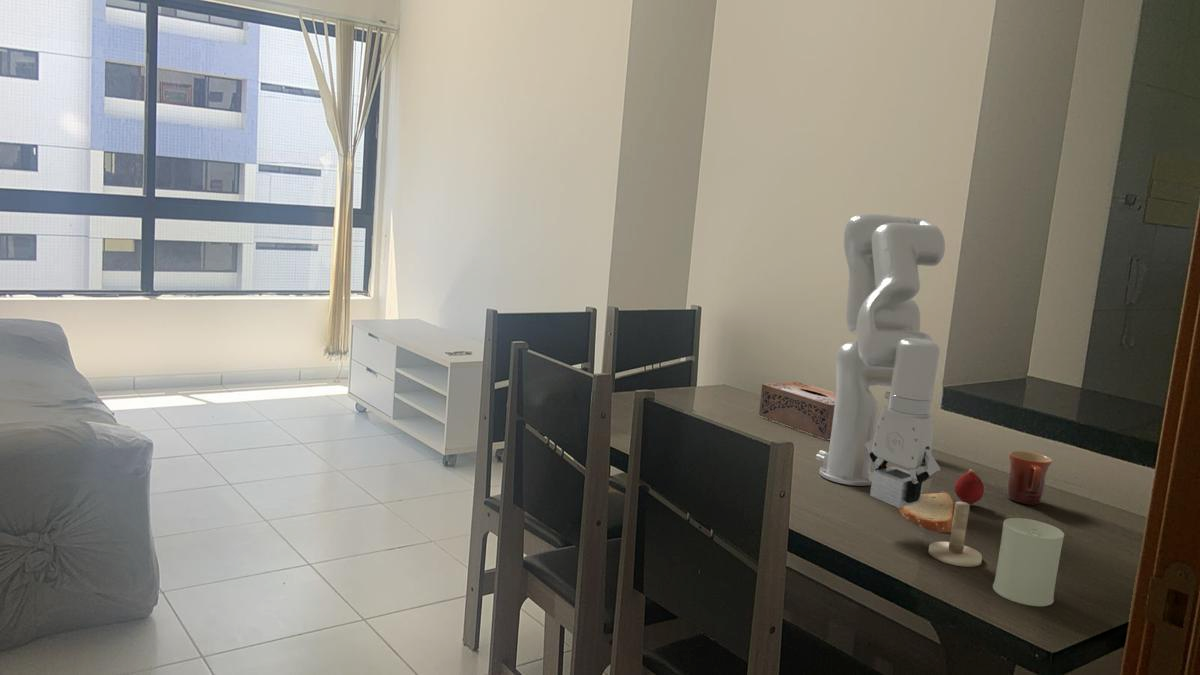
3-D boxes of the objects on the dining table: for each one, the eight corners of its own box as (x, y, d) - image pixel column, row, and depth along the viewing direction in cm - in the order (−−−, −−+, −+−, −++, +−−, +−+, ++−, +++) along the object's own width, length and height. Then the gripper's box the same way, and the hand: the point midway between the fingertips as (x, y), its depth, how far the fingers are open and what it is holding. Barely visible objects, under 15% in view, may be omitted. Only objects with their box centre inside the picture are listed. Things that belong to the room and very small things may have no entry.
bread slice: (939, 536, 174) (941, 517, 173) (867, 505, 189) (869, 488, 188) (995, 524, 183) (998, 506, 183) (922, 496, 198) (925, 480, 198)
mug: (998, 492, 205) (1004, 448, 203) (1039, 497, 203) (1046, 453, 201) (1010, 509, 193) (1018, 463, 191) (1054, 514, 191) (1062, 468, 190)
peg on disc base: (918, 551, 163) (926, 499, 162) (946, 543, 169) (954, 492, 167) (963, 570, 156) (971, 515, 155) (991, 561, 162) (999, 508, 160)
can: (993, 598, 146) (1005, 528, 144) (991, 577, 154) (1001, 511, 152) (1056, 611, 142) (1068, 540, 141) (1050, 589, 151) (1061, 522, 149)
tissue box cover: (758, 417, 259) (762, 384, 258) (793, 414, 268) (797, 381, 266) (826, 441, 239) (831, 405, 237) (862, 436, 247) (866, 401, 245)
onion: (981, 504, 194) (987, 469, 193) (980, 511, 189) (986, 475, 188) (953, 498, 197) (958, 463, 196) (951, 506, 192) (956, 470, 190)
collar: (869, 495, 172) (873, 470, 171) (890, 490, 175) (894, 465, 174) (899, 507, 166) (902, 482, 165) (920, 502, 170) (924, 477, 169)
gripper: (859, 394, 172) (846, 482, 175) (938, 419, 158) (923, 514, 162) (883, 390, 176) (870, 476, 180) (962, 415, 163) (947, 507, 166)
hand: (895, 493), depth 171 cm, fingers closed on collar, 6 cm apart
